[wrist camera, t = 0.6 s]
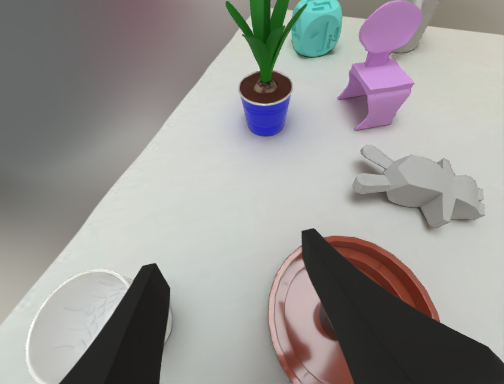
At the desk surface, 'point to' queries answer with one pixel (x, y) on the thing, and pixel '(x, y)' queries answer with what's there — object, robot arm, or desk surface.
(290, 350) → the bowl
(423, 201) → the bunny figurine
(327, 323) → the tulip
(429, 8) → the mug
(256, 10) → the hyacinth
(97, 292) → the white cup
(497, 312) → the desk surface
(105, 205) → the desk surface
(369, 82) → the toy chair
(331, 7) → the decorative dice
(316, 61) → the desk surface
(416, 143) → the desk surface
